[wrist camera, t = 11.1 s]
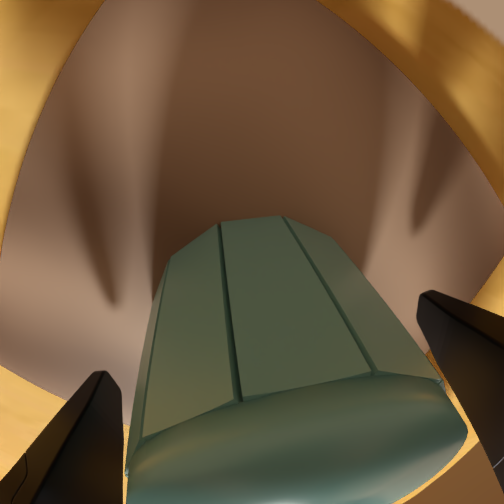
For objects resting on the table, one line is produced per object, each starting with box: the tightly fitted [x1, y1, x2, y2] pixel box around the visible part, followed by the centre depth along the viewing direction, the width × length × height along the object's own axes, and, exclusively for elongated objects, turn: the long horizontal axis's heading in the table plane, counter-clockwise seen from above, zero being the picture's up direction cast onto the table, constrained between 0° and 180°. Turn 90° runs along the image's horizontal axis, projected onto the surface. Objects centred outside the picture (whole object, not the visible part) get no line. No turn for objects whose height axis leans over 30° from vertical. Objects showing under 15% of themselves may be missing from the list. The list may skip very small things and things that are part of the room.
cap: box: [125, 215, 468, 504], centre depth 6 cm, size 6×6×6 cm
